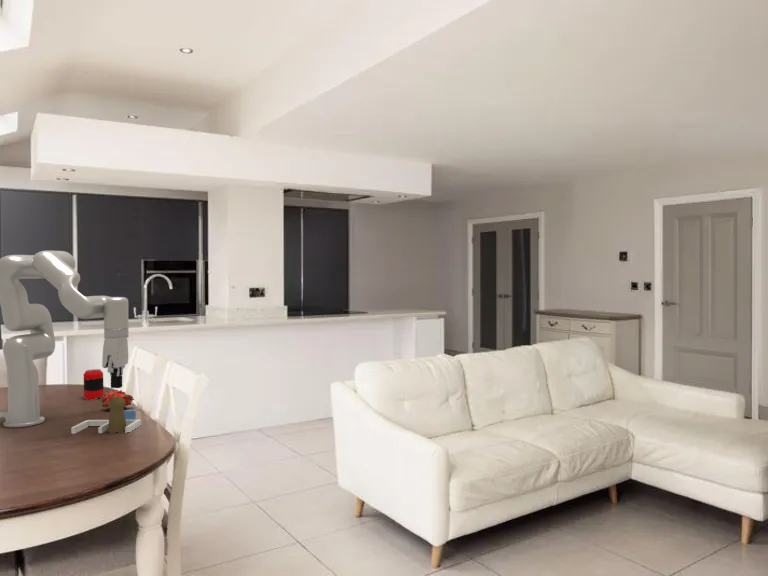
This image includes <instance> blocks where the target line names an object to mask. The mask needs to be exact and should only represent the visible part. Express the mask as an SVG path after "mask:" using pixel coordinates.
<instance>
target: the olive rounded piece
mask: <svg viewBox="0 0 768 576" xmlns="http://www.w3.org/2000/svg"><path fill="white" fill-rule="evenodd" d="M108 406H109V407H108V408H110V409H109V416H108V420H109V424H108V430H107V433H108V432H109V434H117V433H116V432H120V433H123V432H122V431H124V432H125V427H126V426H127V425H126V419H125V413H124V411H125V410H124V408H125V407H126V406H125V400H124V399H123V398H113V399H111V400H109V403H108ZM124 406H125V407H124ZM123 407H124V408H123Z"/></svg>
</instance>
